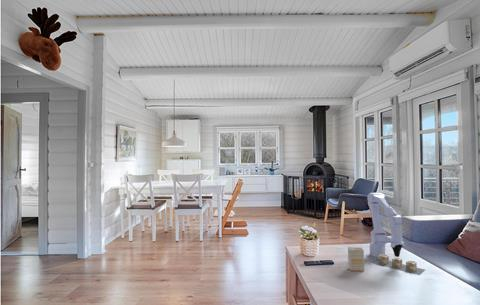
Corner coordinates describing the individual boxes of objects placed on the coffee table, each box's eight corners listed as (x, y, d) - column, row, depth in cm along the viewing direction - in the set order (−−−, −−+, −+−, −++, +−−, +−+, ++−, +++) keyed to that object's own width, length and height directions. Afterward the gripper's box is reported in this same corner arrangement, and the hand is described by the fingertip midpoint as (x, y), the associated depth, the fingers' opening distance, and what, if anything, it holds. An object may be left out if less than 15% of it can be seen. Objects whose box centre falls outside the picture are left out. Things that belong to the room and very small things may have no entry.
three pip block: (405, 269, 174) (405, 261, 174) (408, 267, 177) (408, 259, 177) (414, 271, 170) (414, 263, 171) (416, 269, 174) (416, 261, 174)
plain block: (391, 265, 180) (391, 258, 180) (394, 264, 183) (394, 257, 183) (399, 267, 176) (399, 260, 177) (402, 266, 179) (402, 258, 180)
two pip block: (378, 262, 186) (378, 255, 186) (381, 260, 189) (381, 253, 189) (386, 264, 182) (385, 257, 182) (388, 262, 185) (388, 255, 185)
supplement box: (361, 268, 178) (361, 247, 178) (364, 271, 173) (363, 249, 173) (348, 268, 178) (347, 247, 179) (350, 271, 174) (349, 249, 174)
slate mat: (370, 263, 186) (370, 262, 186) (378, 259, 194) (378, 258, 194) (419, 276, 165) (419, 275, 165) (425, 270, 173) (425, 269, 173)
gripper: (399, 238, 172) (399, 260, 172) (407, 233, 182) (408, 255, 182) (386, 235, 177) (387, 257, 177) (395, 231, 187) (396, 252, 187)
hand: (396, 256), depth 180 cm, fingers closed
